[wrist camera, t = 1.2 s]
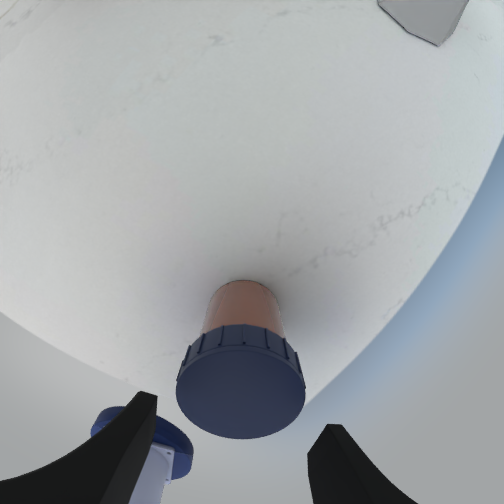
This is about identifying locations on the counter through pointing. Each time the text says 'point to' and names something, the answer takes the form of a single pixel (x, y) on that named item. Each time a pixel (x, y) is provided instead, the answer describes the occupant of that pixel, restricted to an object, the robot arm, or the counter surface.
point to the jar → (243, 307)
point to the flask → (427, 17)
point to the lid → (240, 382)
